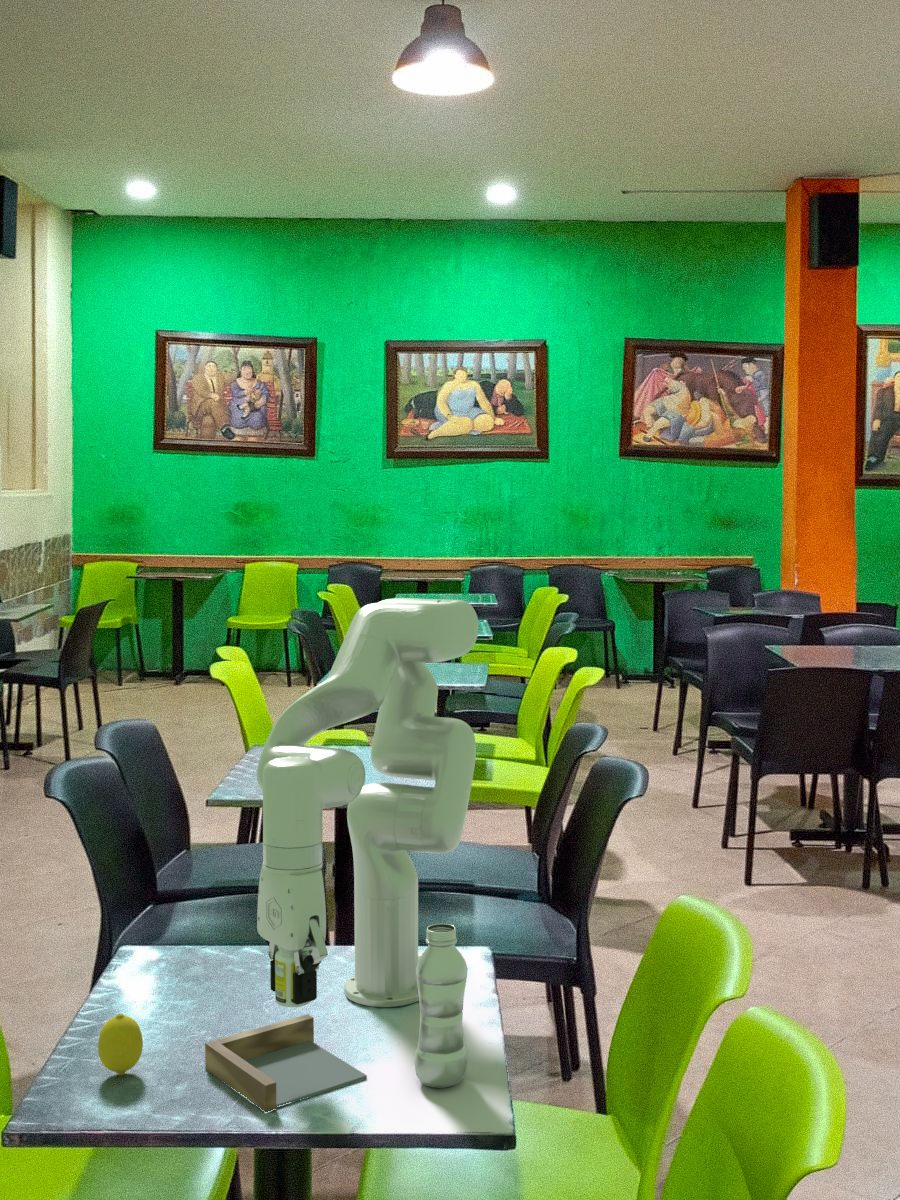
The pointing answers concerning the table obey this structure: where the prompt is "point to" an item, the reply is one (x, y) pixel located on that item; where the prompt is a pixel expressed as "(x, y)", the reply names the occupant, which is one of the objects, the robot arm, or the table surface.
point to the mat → (305, 1071)
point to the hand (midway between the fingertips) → (293, 993)
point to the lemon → (120, 1044)
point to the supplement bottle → (286, 977)
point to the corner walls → (232, 1052)
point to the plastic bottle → (441, 1009)
